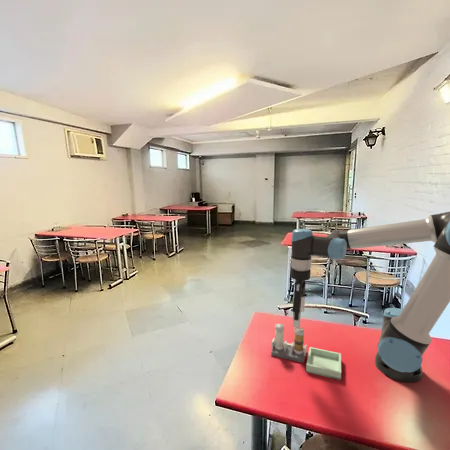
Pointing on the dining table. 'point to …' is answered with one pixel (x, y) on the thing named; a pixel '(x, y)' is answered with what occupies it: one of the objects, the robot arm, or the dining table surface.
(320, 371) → the parts tray
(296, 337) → the fuse
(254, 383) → the dining table surface
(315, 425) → the dining table surface
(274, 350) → the block
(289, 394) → the dining table surface
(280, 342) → the cylinder
